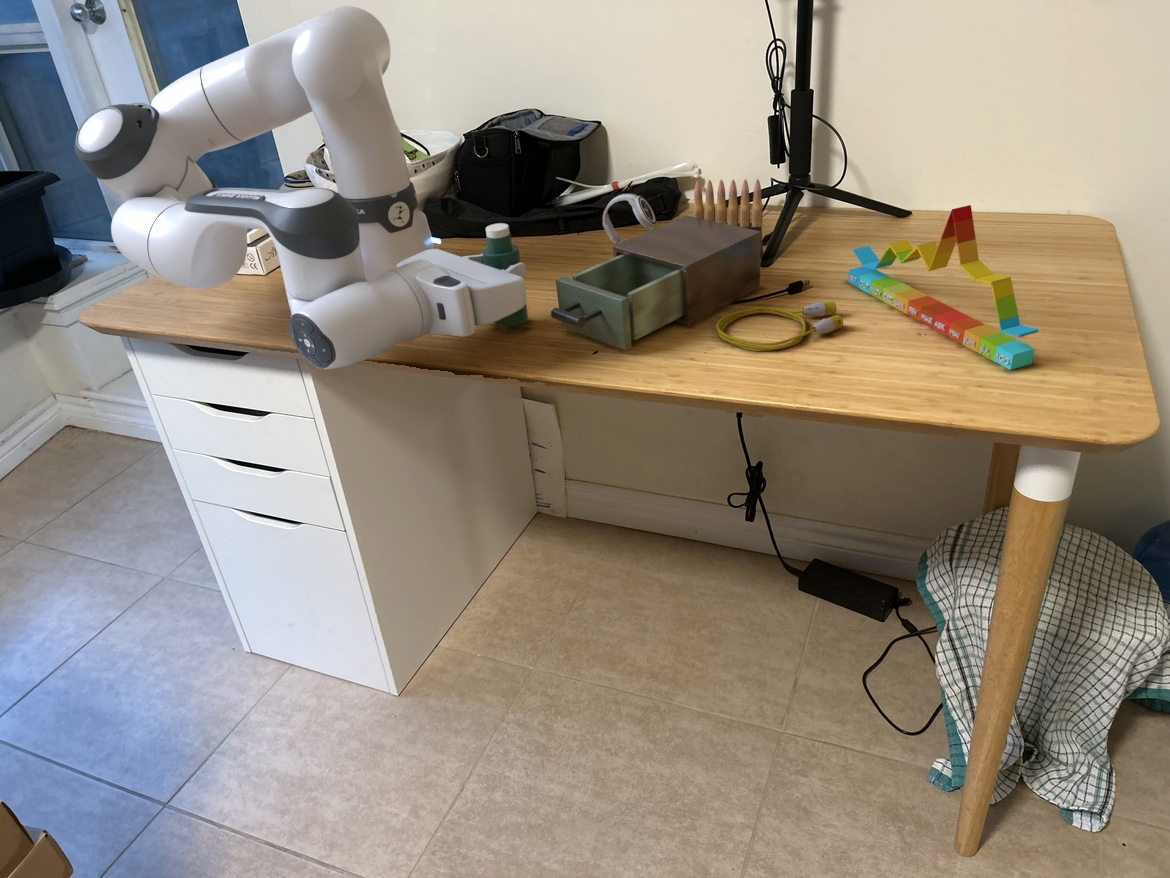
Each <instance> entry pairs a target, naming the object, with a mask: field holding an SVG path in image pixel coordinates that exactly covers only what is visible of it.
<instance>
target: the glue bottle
mask: <svg viewBox="0 0 1170 878" xmlns="http://www.w3.org/2000/svg"><path fill="white" fill-rule="evenodd" d="M485 234H486V235H485V239H486V245H487V246H486V247H484V248H483V249H482V251H481V254H483V260H484V265H487V266H490V267H493V268H496V269H499V270H502V269H503V270H506V269H508V264H510V263H514V262H515V261H517V262H521V255H520V247H519V246H518V245H517V244H516V243H513V241H512V234H511V232H510V226H509V224H507V223H504V222H503V223H502V222H499V223H498V222H497V223H493V224H490V225H487V226H486V227H485ZM521 263H522V262H521ZM522 278H523V279H524V277H522ZM527 306H528V305H527V303H526V304H525V306H524V307H523V308H522V309H520V310H519V311H517V312H515V313H513V314H511V315H509V316H506V317H504V318H502V319H500V320H498V321H495V322H493V323H494V325H496V326H499V327H515V326H518V325H521V324H524V323H525V322H526V321H528V319H529V313H528V307H527Z"/></svg>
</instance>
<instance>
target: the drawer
mask: <svg viewBox="0 0 1170 878" xmlns="http://www.w3.org/2000/svg"><path fill="white" fill-rule="evenodd" d="M571 277H572V279H571V278H569V277H565V276H560V277H557V278H556V279H555V287H556V295H557V304H558V307H554V308H552V310H550V311H551V312H550V317H551V318H552V319H554V320H557V321H559V322H560V326H561V327H563V328H565V329H568V330H570V331H573V332H576V333H578V334H581V335H584V336H586V337H589V338H592V339H594V340H597V341H600V342H602V343H605V344H608V345H610V346H613V347H616V348H618V349H621V350H623V351H627V350H629V349H631V348H632V347H633V346H632V341H638V340H639V339H641V338H643V337H644V336H647V335H648V334H650V333H652V332H654V331H656V330H658V329H660V328H662V327H665V326H666V325H668V324H670V323H672V322H673V321H674V320H676V319H678V318H680V317H682V316H683V315H684V293H683V270H680V269H676V268H672V267H669V266H665V265H662V264H658V263H654V262H651V261H647V260H643V259H640V258H636V257H633V256H629V255H625V254H621V255H619V256H616V257H614V256H613V257H612V258H610V259H607V260H605V261H602V262H601V263H598V264H595V265H593V266H591V267H589V268H586V269H584V270H582V271H580V272H578V273H575V274H572V276H571Z"/></svg>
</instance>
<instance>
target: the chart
mask: <svg viewBox="0 0 1170 878" xmlns="http://www.w3.org/2000/svg"><path fill="white" fill-rule="evenodd" d="M972 209H973V208H972V205H971V204H969V205H964V206H960V207H955V208H952V209H951V211H950V212H949V213H950V214H949V216H948V219H947V221H946V224H945V227H944V229H943V232H942V234H941V237H940V239H939V242H938V244H937V242H936V241H930V242H926V243H922V244H918V245H916V246H915V247H914V248H913V246H912V244H911V243H910V242H909V241H908V239H905V240H902V241H898V242H892V243H890V244H889V245H888V247H887V248H886V249H885V251H884V253H883V254H882V255H881V257H880V259H879V257H878V256H877V255H876V253H875V252H874V250H873V248H872V247H871V246H870V245H866V246H861V247H857V248H854V249H852V253H853V255H854V256H855V258H856V259H857V260H858V262H859V263H860V265H861V266H859V267H854V268H850V269H848V279H847V281H848V283H849V284H851V285H852V286H854V287H856V288H857V289H859V290H861V291H862V292H865V293H867V294H869V295H870V296H872V297H874V298H875V299H878V300H880V301H882V302H884V303H885V304H887V305H889V306H890V307H893V308H894V309H896V310H898V311H900V312H902V313H904V314H906V315H907V316H909V317H911V318H913V319H914V320H917V321H918V322H921V323H922V324H924V325H926V326H927V327H930V328H931V329H932V330H935V331H937V332H939V333H941V334H942V335H944V336H946V337H948V338H950V340H953V341H955V342H957V343H958V344H960V345H963V346H964V347H966V348H968V349H970V350H971V351H973V352H975V353H978V354H979V355H981V356H983V357H985V358H987V359H989V360H990V361H992V362H994V363H997V364H998V365H1000V366H1002V367H1004V368H1005V369H1008V370H1009V371H1013V370H1015V369H1018V368H1022V367H1025V366H1029V365H1032V363H1033V358H1034V354H1035V348H1034V347H1032V346H1030V345H1028V344H1026V343H1024V342H1022V341H1021V340H1018V339H1015V337H1016V338H1022V337H1026V336H1030V335H1034V334H1037V333H1039V328H1036V327H1032V326H1027V325H1024V324H1021V321H1020V316H1019V310H1018V307H1017V302H1016V297H1015V291H1014V285H1013V281H1012V277H1011V276H1008V275H1002V274H997V273H994V272H993V271H992V270H991V269H989V268H988V267H987V266H986V264H984V263H983V262H982V261H981V260H980V256H979V251H978V245H977V238H976V231H975V224H974V217H973V210H972ZM955 247H956V249H957V255H958V262H959V268H960V269H961V270H962V271H963V272H964V273H965V274H966V275H967V276H968V277H969V278H970V279H971V280H972V281H973V282H976V283H981V284H985V285H989V286H991V291H992V296H993V300H994V301H993V302H994V306H995V311H996V315H997V320H998V326H999V330H997V329H995V328H993V327H991V326H989V325H987V324H985V323H983V322H981V321H979V320H977V319H975V318H973V317H972V316H969V315H968V314H965V313H963V312H962V311H959V310H957V309H956V308H954V307H952V306H949V305H948V304H946V303H943V302H942V301H939V300H937V299H936V298H934V297H931V296H930V295H927V294H926V293H924V292H921V291H919V290H917V289H916V288H914V287H911V286H909V285H908V284H905V283H904V282H902V281H899V280H897V279H895V278H894V277H891V276H890V275H888V274H886V273H884V272H881V271H880V270H878V269H882V268H885V267H889V266H892V265H893V264H894V262H895V261H896V259H897V260H898V261H899V263H900V264H902V265H903V264H905V263H911V262H914V261H918V260H920V259H922V262H923V263H924V266H925V267H926V269H927V272H931V271H935V270H939V269H943V268H944V269H945V268H947V267H948V264H949V261H950V259H951V257H952V254H953V252H954V250H955Z"/></svg>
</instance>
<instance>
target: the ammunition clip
mask: <svg viewBox="0 0 1170 878" xmlns="http://www.w3.org/2000/svg"><path fill="white" fill-rule="evenodd" d="M749 187H750V186H749V182H748V180H747V179H744V180H743V182H742V185H741V192H740V194H741V195H740V204H739V203H738V189H737V185H736V181H735V179H733V178H732V180H731V183H730V186H729V192H728V205H727V199H726V188H725V183H724V181H723V179H720V180H719V182H718V187H717V193H716V194H717V199H716V206H715V193H714V187H713V182H712V181H711V179H708V180H707V184H706V189H705V203H704V200H703V190H702V185H701V182H700V180H699V179H697V180H696V182H695V187H694V194H693V197H694V199H693V208H692V217H697V218H701V219H706V220H710V221H715V222H719V223H724V224H729V225H733V226H738V227H742V228H747V229H751V230H756V231H761V236H760V237H761V250H760V260H762V259H763V257H764V244H763V243H764V241H763V238H764V237H763V217H764V216H763V215H764V214H763V212H764V211H763V210H764V208H763V201H762V186H761V182H760V180H759V178H757V179H756V180H755V183H754V186H753V193H752V205H751V204H750V203H751V202H750V189H749ZM704 204H705V205H704Z"/></svg>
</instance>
